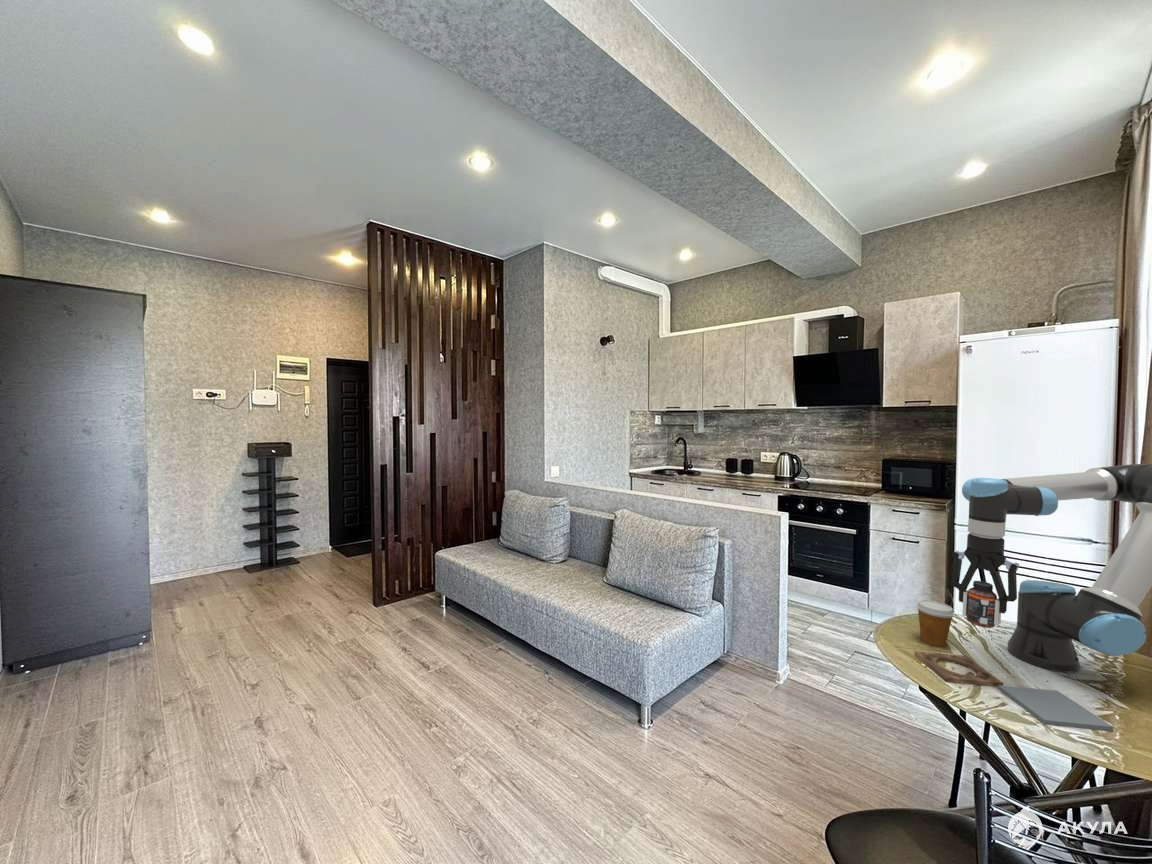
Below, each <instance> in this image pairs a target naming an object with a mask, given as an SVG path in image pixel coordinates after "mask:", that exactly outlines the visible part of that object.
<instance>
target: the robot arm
mask: <svg viewBox="0 0 1152 864" xmlns="http://www.w3.org/2000/svg"><path fill="white" fill-rule="evenodd" d="M961 493H962V497H964V499H965V500H967V501H968V519H967V520H968V521H967V532H968V534H967V535H966V536H967V539H966V540H967V541H966V549H965V550H964V551H959V550H956V551H953V552H952V553H951V555H952V558H953V565H952V566H953V567H952V571H951V572H952V574H951V579H950V586H951V587H952V588H956V589H957V590H958V601H959V603H962V614H961V615H962V616H964V617H967V601H968V590H969V589H968V587H969V585H970V583H971V582H972V579H973V577H974V575H975V574H976V571H977V570H984V571H987V572H989V574H990V576H991V578H992V581H993V586H994V588H995V591H996V595H997V599H996V600H995V615H994V625H995V626H999V625H1000V624H1001V621H1002V619H1001V617H1002V614H1003V615H1004V614H1006V612H1007V607H1008V602H1015V601H1016V600H1017V613H1016V614H1017V615H1016V616H1017V617H1016V618H1017V619H1016V626H1015V629H1014V631H1013V632H1012V634H1011V637H1010V638H1009V639H1008V641H1007V647H1006V648H1007V649H1006V650H1007V651H1008V652H1009V653H1010V654H1011V655H1012V656H1014V657H1015V658H1017V659H1019V660H1021V661H1023V662H1026V663H1029V664H1031V665H1033V666H1037V667H1040V668H1043V669H1044V668H1045V669H1047V670H1052V671H1057V672H1063V673H1074V672H1078V671H1079V669H1080V659H1079V657H1078V654H1077V650H1076V648H1075V645H1074V642H1073V641H1075V642H1077V643H1079V644H1081V645H1083V646H1085V647H1087V648H1089V649H1091V650H1094V651H1097V652H1100V653H1102V654H1104V655H1108V656H1113V657H1122V656H1127V655H1130V654H1133V653H1135V652H1136V651H1137V650H1139V649H1140V648H1141V647H1142V646H1143V645H1144V643H1145V642H1146V640H1147V639H1146V638H1147V634H1145V633H1146V632H1147V631H1146V627H1145V626H1144V624H1143V623H1142V622H1141V620H1142V618H1143V614H1142V612H1141V610H1140V608H1139V606H1140V605H1141V603H1142V601H1143V600H1144V599H1145V596H1146V595H1147V593H1148V592H1149V591H1150V589H1151V588H1152V464H1151V463H1131V464H1122V465H1113V466H1102V467H1091V468H1088V469H1087V470H1085V471H1084V472H1074V473H1061V474H1059V473H1058V474H1048V475H1047V474H1046V475H1045V474H1044V475H1035V476H1023V477H1021V476H1020V477H1010V478H1009V477H1008V478H992V477H974V478H970V479H968V480H966V481H965V482H964V483H963V485H962V487H961ZM1083 499H1093V500H1095V501H1101V502H1103V501H1118V502H1123V503H1131V504H1135V506H1136V508H1137V510H1138V511H1139V513H1138V515H1137V516H1136V518H1135V520H1134V521H1133V522H1132V524H1131V526H1130V527H1129V529H1128V531H1127V532H1126V534H1125V535H1124V537H1123V539H1121V541H1120V543H1119V544H1118V546H1117V547H1116V549H1115V551H1114V553H1112V555H1111V557H1110V559H1109V560H1108V561H1107V563H1106V565H1105V566H1104V568H1103V569H1102V571H1101V572H1100V574H1099V575H1098V577H1097V578H1096V580H1095V582H1094V583H1093V585H1092V586H1090V587H1083V588H1081V589H1080V590H1079V591H1078V593H1077V591H1076V588H1075V587H1073V586H1071V585H1068V584H1063V583H1060V582H1059V583H1058V582H1053V581H1045V580H1035V579H1026V580H1023V581H1021V582H1020V584H1019V589H1018V588H1017V587H1018V584H1017V583H1018V582H1017V571H1018V569H1019V567H1020V564H1019V563H1018V562H1012V561H1010V560H1007V558H1006V556H1005V541H1006V540H1005V539H1004V537H1005V536H1006V521H1007V515H1014V516H1015V515H1018V516H1019V515H1020V516H1021V515H1022V516H1035V517H1038V516H1039V517H1040V516H1049V515H1052V514H1053V513H1055V512H1056V511H1057V510H1058V507H1059V501H1067V500H1068V501H1069V500H1083ZM964 558H966V559H967V560H968V561H969V563H970V564H969V566H968V568H967V571H966V573H965V575H964V576H963V579H962V581H961V583H960V580H961V579H960V578H961V572H962V566H963V565H962V563H963V560H964ZM1002 565H1005V568H1006V569H1007V570H1008V571H1007V590H1008V591H1007V592H1006V589H1005V586H1004V585H1005V584H1004V583H1003V580H1002V579H1003V578H1002V576H1001V574H1000V572H1001V571H1000V569H999V568H1000V567H1002ZM1017 589H1018V590H1019V591H1018V590H1017Z"/></svg>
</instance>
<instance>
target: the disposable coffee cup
mask: <svg viewBox="0 0 1152 864" xmlns="http://www.w3.org/2000/svg"><path fill="white" fill-rule="evenodd" d="M915 606H916V608H917V613H918V622H919V634H920V640H921V641H922V642H923V643H925V644H927V645H930V646H933V647H937V648H944V646H945V647H946V646H947V645H946V644H947V641H948V637H949V632H950V630H951V629H950V627H951V623H952V620H953V617H954V616H955V612H954V611H953V608H952V606H950V605H948V604H946V603H943V602H939V601H935V600H931V599H920V600H918V601H917V603H916V605H915Z"/></svg>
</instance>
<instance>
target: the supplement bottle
mask: <svg viewBox="0 0 1152 864" xmlns="http://www.w3.org/2000/svg"><path fill="white" fill-rule="evenodd" d="M972 586H973V587H970V588H969V589H967V590H968V601H967V616H966V620H967V622H968V623H970V624H972V625H974V626H976V627H977V626H978V627H981V628H985V629H991V628H994V627H995V626H996V625H994V615H995V600H996V599H998V594H997V593H995V592H994V587H993V586H994V584H992V583H991V582H986V581H983V580H982V581H981V580H974V581H973V584H972Z"/></svg>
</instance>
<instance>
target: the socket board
mask: <svg viewBox="0 0 1152 864" xmlns="http://www.w3.org/2000/svg"><path fill="white" fill-rule="evenodd" d="M914 656H915V657H916V658H917V659H919V661H921V662H922V663H923V664H924V665H925V666H927V668H929V669H930V670H931V671H932V672H933V673H934V674H936V675H937V676H938V677H939V678H940V679H942V680H943V682H945V683H952V684H963V685H973V686H974V685H976V686H984V687H985V686H986V687H994V688H998V685H1002V686H1004V682H1003V681H1002V680H1000V679H999V678H997V677H996V676H995V675H994V674H992V673H991V672H989V671H988V670H986V669H985V668H984V667H982V666H981V665H980V664H978V663H977V662H975V661H974V660H973V659H972V658H971V657H968V656H967V655H962V654H951V653H940V652H939V653H938V652H928V651H927V652H926V651H914ZM942 661H943V663H953V662H954V664H955V663H956V665H958V664H959V666H960V667H964V668H968V669H969V670H971V671H972V672H973V673H975V675H970V674H960V673H957V672H955V671H952V670H950V669H947V668H944V667H943V666H942V665H940V664H939V662H942ZM945 661H946V662H945Z"/></svg>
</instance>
